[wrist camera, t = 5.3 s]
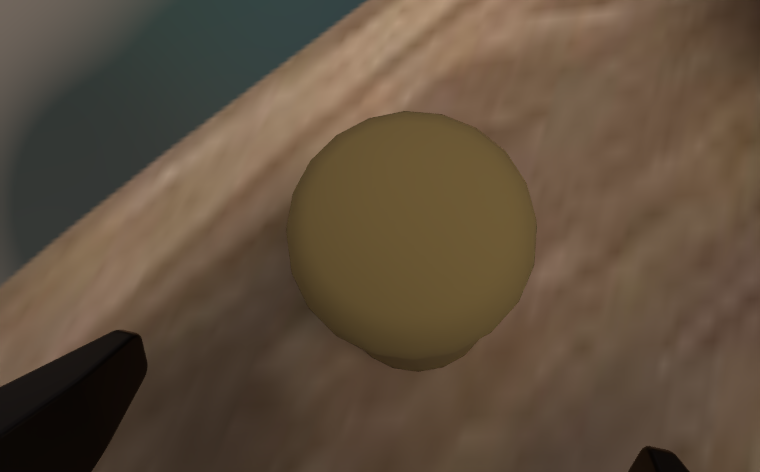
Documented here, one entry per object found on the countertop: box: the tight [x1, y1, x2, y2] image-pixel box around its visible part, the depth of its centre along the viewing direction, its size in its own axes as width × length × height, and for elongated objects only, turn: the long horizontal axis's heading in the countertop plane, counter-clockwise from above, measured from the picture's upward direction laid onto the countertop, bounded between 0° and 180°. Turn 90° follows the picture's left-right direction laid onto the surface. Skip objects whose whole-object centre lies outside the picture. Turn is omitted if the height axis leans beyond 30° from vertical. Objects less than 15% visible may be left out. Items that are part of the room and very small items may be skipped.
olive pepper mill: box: [286, 111, 537, 372], centre depth 14 cm, size 6×6×11 cm
